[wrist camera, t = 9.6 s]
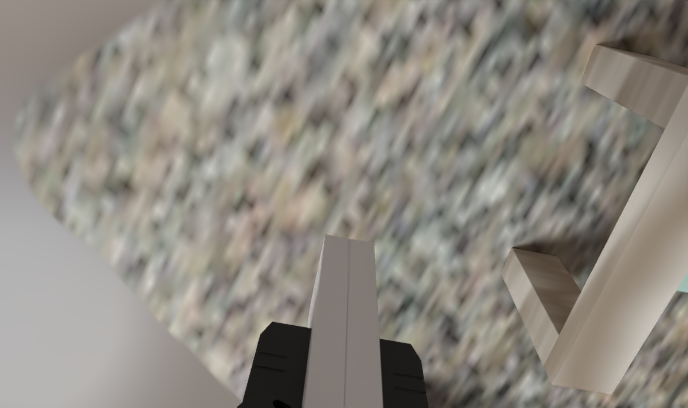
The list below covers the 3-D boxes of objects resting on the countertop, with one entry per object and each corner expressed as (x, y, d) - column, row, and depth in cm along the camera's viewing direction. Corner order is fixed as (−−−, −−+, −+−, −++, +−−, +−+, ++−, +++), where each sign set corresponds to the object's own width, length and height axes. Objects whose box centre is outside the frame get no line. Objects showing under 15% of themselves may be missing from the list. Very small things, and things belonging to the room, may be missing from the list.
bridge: (651, 56, 25) (793, 102, 17) (545, 281, 32) (611, 394, 23) (596, 44, 25) (713, 85, 17) (501, 273, 31) (551, 384, 23)
